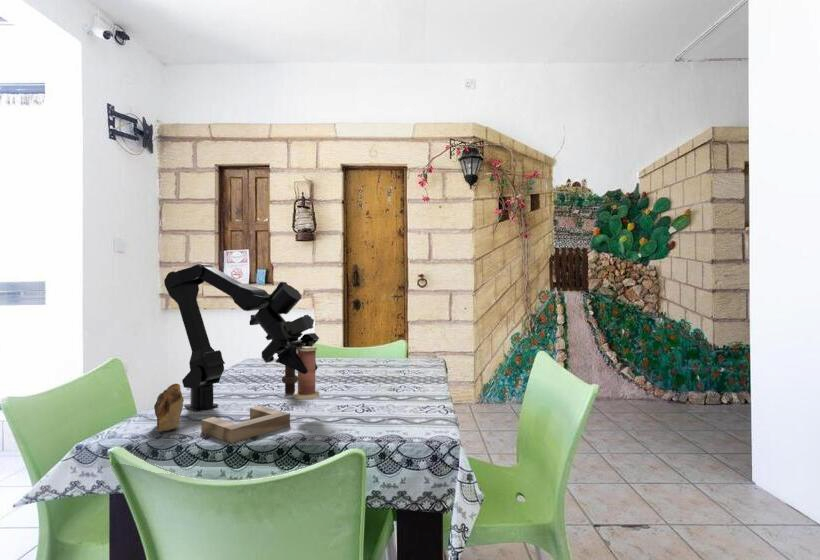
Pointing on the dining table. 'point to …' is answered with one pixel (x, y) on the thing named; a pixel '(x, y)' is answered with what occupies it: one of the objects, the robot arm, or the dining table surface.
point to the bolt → (289, 380)
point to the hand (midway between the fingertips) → (311, 371)
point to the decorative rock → (169, 408)
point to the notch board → (247, 425)
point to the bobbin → (307, 374)
